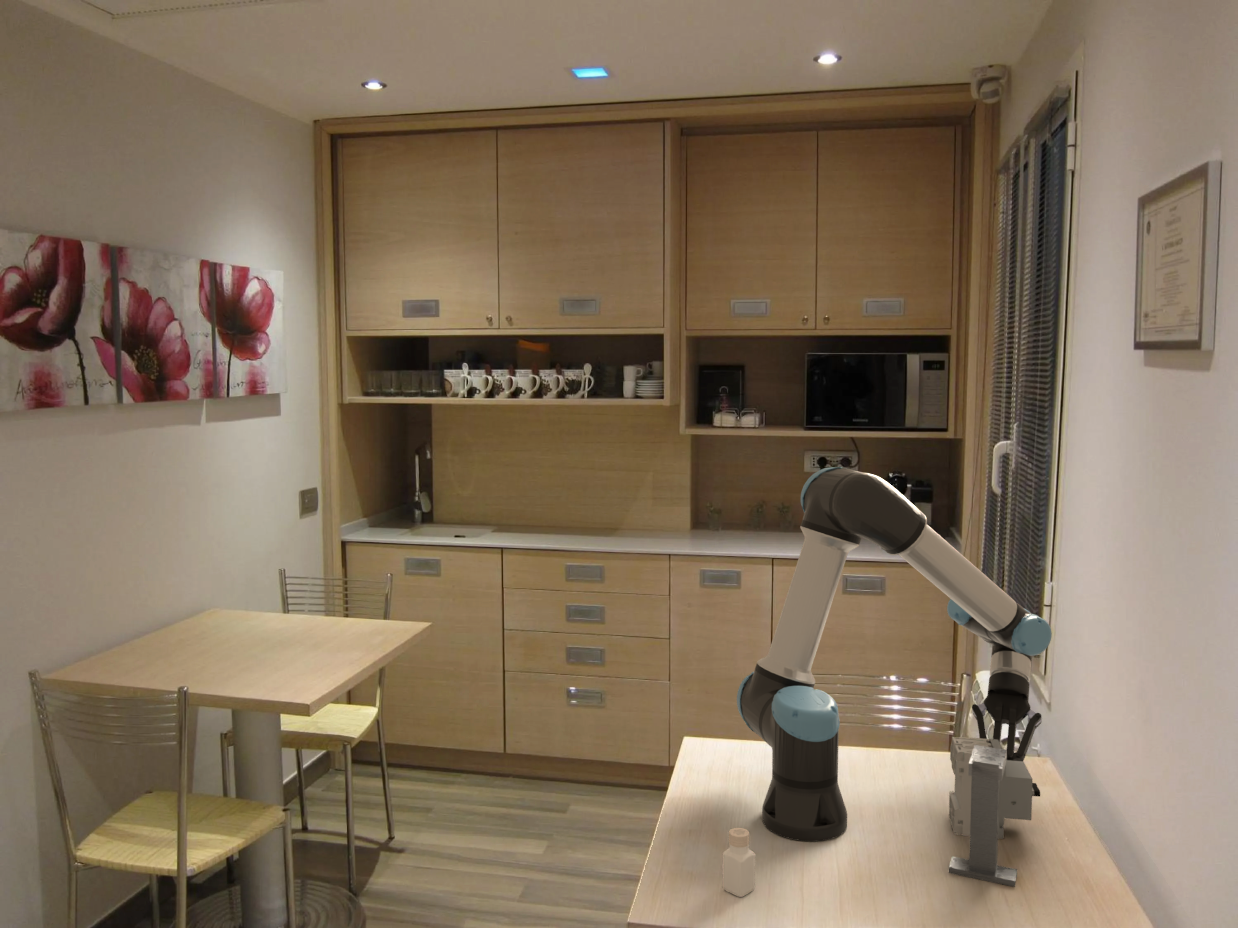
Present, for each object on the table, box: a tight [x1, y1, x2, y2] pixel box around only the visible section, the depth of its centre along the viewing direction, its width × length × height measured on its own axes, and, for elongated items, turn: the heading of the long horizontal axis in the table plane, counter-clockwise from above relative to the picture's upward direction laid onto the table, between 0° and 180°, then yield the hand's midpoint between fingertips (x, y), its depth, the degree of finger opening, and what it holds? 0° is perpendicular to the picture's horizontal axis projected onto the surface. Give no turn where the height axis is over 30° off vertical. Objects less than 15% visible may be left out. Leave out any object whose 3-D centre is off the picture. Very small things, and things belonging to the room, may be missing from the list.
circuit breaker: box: [948, 736, 1041, 840], centre depth 173 cm, size 8×14×15 cm, turn 78°
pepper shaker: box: [722, 827, 756, 898], centre depth 153 cm, size 4×4×10 cm
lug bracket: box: [948, 745, 1018, 888], centre depth 160 cm, size 10×10×19 cm
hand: (999, 792), depth 181 cm, fingers closed
